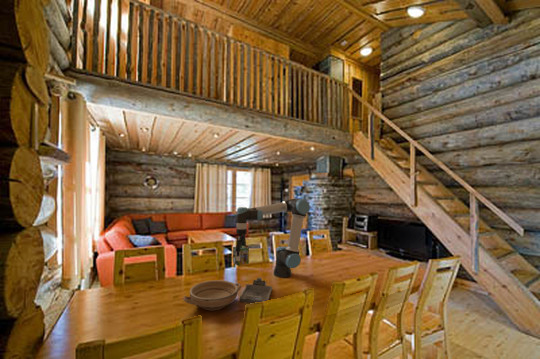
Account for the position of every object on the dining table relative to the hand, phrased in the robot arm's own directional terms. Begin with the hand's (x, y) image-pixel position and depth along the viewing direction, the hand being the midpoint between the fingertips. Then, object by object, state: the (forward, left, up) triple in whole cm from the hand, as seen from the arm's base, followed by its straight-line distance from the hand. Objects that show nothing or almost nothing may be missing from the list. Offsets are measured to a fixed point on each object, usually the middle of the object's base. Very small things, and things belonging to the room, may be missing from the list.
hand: (240, 258), depth 178 cm
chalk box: (0, 0, -4) cm, 4 cm away
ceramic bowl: (+8, +31, -21) cm, 38 cm away
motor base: (-15, +12, -20) cm, 28 cm away
